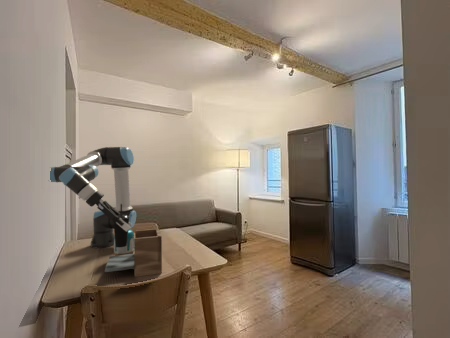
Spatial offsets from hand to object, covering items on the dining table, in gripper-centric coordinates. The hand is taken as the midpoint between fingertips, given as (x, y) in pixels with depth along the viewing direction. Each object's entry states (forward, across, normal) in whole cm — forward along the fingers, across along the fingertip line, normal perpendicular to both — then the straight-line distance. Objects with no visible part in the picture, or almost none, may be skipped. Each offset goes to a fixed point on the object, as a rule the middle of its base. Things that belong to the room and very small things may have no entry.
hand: (128, 227), depth 118 cm
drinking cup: (+4, 0, -9) cm, 9 cm away
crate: (+16, 0, -13) cm, 21 cm away
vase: (+12, -19, -17) cm, 29 cm away
